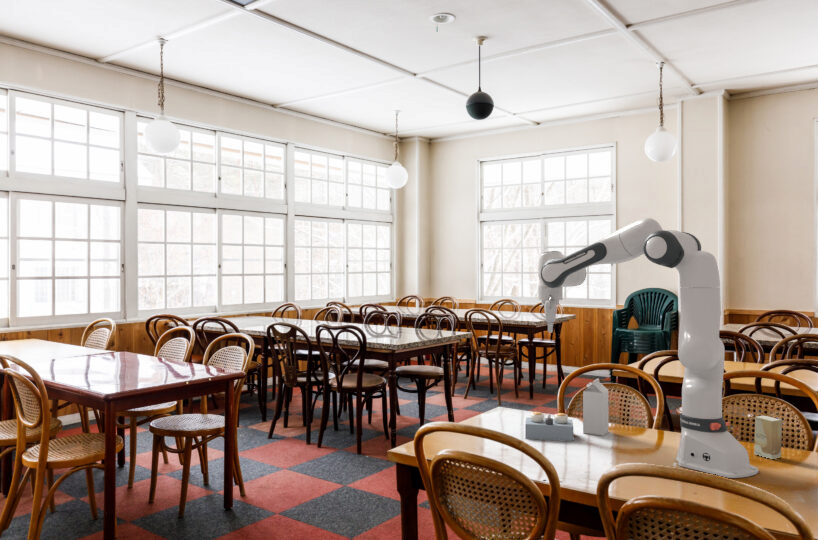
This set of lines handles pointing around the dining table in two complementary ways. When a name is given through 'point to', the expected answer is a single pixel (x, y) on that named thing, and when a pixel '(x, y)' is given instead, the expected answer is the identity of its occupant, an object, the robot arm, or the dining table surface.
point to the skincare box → (768, 437)
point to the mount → (549, 430)
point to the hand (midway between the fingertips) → (550, 332)
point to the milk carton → (595, 409)
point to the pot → (549, 420)
